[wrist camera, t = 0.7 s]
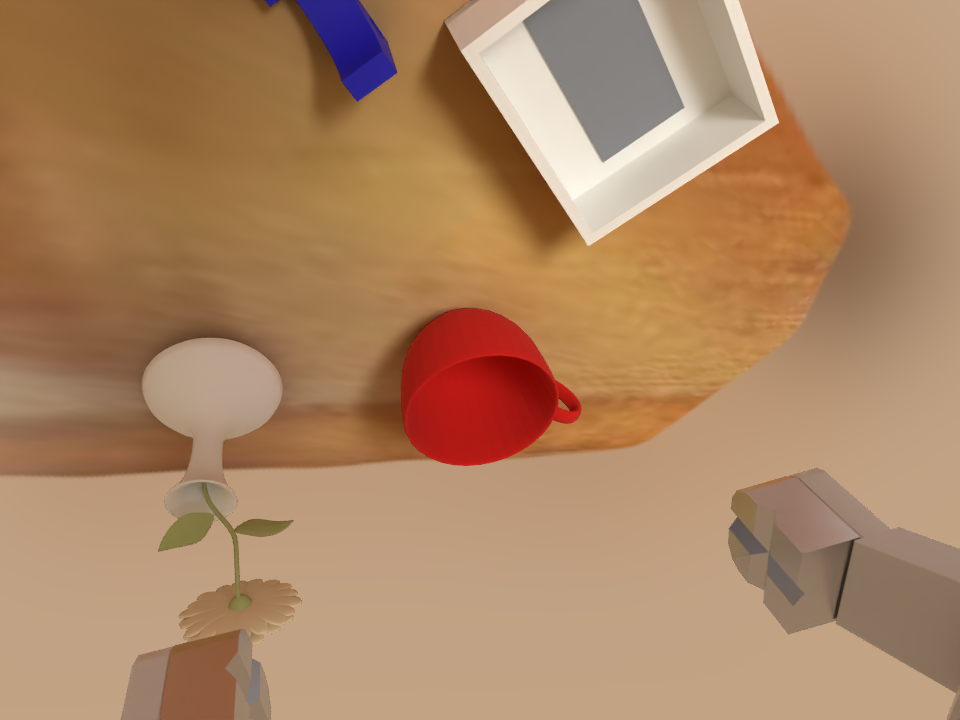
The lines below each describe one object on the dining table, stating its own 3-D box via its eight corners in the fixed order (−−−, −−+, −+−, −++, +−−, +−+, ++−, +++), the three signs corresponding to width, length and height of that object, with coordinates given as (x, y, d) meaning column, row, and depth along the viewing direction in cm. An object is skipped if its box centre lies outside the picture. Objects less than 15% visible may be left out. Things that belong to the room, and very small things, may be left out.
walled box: (653, -143, 42) (696, -129, 37) (738, 91, 53) (778, 122, 49) (444, 21, 45) (460, 51, 41) (565, 207, 57) (588, 246, 52)
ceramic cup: (527, 403, 72) (554, 479, 64) (370, 375, 65) (381, 456, 57) (588, 306, 64) (627, 378, 57) (420, 262, 57) (439, 339, 50)
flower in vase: (135, 411, 62) (72, 692, 43) (155, 312, 55) (90, 593, 37) (283, 432, 67) (281, 690, 49) (316, 345, 61) (328, 603, 43)
